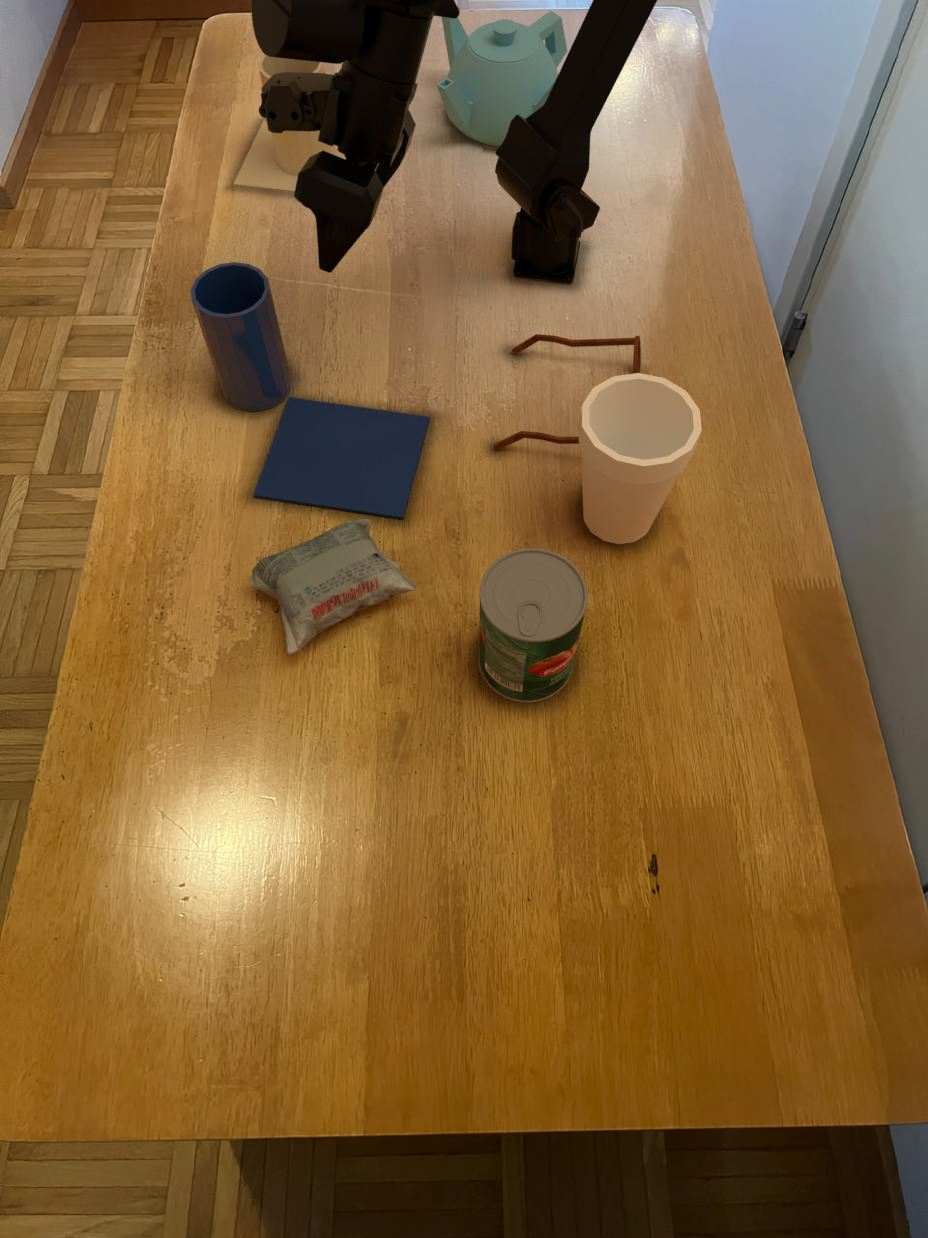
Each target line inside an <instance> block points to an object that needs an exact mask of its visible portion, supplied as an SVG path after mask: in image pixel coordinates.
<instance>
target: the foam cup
mask: <svg viewBox="0 0 928 1238" xmlns="http://www.w3.org/2000/svg"><path fill="white" fill-rule="evenodd" d="M702 431H703V429H702V418H701V411H700V408H699V407H698V405H697V404H696V402H695V401H694V400H693V398H692V397H691V395H690V394H689V393H688V391H687V390H685V389H683V388H682V387H681V386H679V385H677V384H675V383H674V382H672V381H670V380H668V379H667V378H665V377H660V376H655V375H650V374H646V373H641V372H640V373H635V374H633V373H627V374H622V375H614V376H611V377H610V378H608V379H606V380H605V381H603V382H600V383H599V384H597V385H596V386H594V387H593V388H592V389H591V390H590V392H589V393H588V395H587V397H586V398H585V400H584V402H583V403H582V405H581V407H580V415H579V422H578V437H579V444H578V447H579V448H580V450H581V475H582V477H581V478H582V482H581V483H582V512H583V514H582V515H583V522H584V523H585V525H586V526H587V529H588V530H589V532H590V533H591V534H593V535H595V536H596V537H597V538H599V539H600V540H602V541H603V542H608V543H612V544H616V545H622V544H630V543H635V542H636V541H638V540H640V539H642V538H643V537H644V536H646V535H647V534H648V533H649V531H650V530H651V528H652V526H653V524H654V522H655V519H656V518H657V516H658V514H659V512H660V510H661V509H662V507H663V505H664V504H665V502H666V500H667V498H668V496H669V495H670V493H671V490H672V488H673V487H674V485H675V484H676V481H677V480H678V478H679V476H680V474H681V472H683V471H684V470H685V469H687V466H688V465H689V462H690V461H691V459H692V457H693V455H694V453H695V452H696V449H697V447H698V443H699V440H700V437H701V434H702Z"/></svg>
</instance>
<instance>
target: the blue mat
mask: <svg viewBox="0 0 928 1238" xmlns="http://www.w3.org/2000/svg"><path fill="white" fill-rule="evenodd" d="M285 404H286V405H285V407H284V409H283V413H282V415H281V418H280V422H279V424H278V426H277V430H276V432H275V435H274V437H273V440H272V443H271V446H270V448H269V451H268V454H267V457H266V459H265V462H264V465H263V468H262V470H261V473H260V476H259V479H258V482H257V483H256V486H255V490H254V493H253V498H257V499H263V500H270V501H276V502H282V503H290V504H296V505H302V506H309V507H317V508H322V509H330V510H336V511H343V512H350V513H354V514H355V513H356V514H361V515H367V516H368V515H369V516H374V517H375V516H376V517H383V518H389V519H397V520H404V519H405V515H406V512H407V507H408V503H409V500H410V496H411V492H412V488H413V484H414V480H415V477H416V473H417V469H418V465H419V462H420V457H421V454H422V451H423V450H422V449H423V446H424V442H425V438H426V436H427V435H426V434H427V431H428V427H429V423H430V419H431V417H430V416H427V415H420V414H413V413H407V412H406V413H405V412H398V411H392V410H384V409H376V408H370V407H361V406H357V405H347V404H341V403H333V402H327V401H320V400H313V399H305V398H297V397H290V396H289V397H288V399H287V402H286V403H285Z"/></svg>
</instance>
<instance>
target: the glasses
mask: <svg viewBox="0 0 928 1238" xmlns="http://www.w3.org/2000/svg"><path fill="white" fill-rule="evenodd" d="M538 342H547V343H555V344H559V345H563V346H567V347H571V348H582V347H585V348H586V347H587V348H588V347H616V346H633V353H632V354H633V355H632V374H635V373H641V369H642V368H641V367H642V366H641V365H642V345H641V336H640V335H635V336H634V337H620V338H617V337H615V338H589V339H588V338H586V339H584V338H583V339H569V338H565V337H563V336H558V335H554V334H553V335H551V334H538V333H536V334H534V335H532V336H530V337H529V338H527V339H526V340H524V341H523V342H521V343H519V344H518V345H516V346H514V347H513V348H511V352H512V354H513V355H514V356H516V355H518V354H519V353H521V352H523V351H524V350H526V349H528V348H529V347H531V346H534V345H535V344H536V343H538ZM523 439H531V440H539V441H540V440H541V441H544V442H545V441H546V442H549V443H553V444H557V445H579V436H556V435H552V434H549V433H544V432H538V431H526V430H520V431H518V432H515V433H514V434H511V435H510V436H508V437H505V438H503V439H500V440H499V441H497V442H495V443H493V448H494V449H495V450H496V451H500V450H502V449H504V448H506V447H508V446H510V445H512V444H514V443H516V442H518V441H521V440H523Z"/></svg>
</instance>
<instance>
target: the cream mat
mask: <svg viewBox="0 0 928 1238" xmlns="http://www.w3.org/2000/svg"><path fill="white" fill-rule="evenodd" d="M337 149H338V146H336V145H335V155H336V156H338V157H341V158H343V159H345V160H346V158H345V155H344V154H342V153H340V152H339V151H338V150H337ZM297 178H298V176H296V175H292V174H289V173H287V172H285V171H284V170H282V169H281V168H280V166H279V165H278V162H277V157H276V152H275V147H274V142H273V137H272V132H270V131H269V130H268V126H267V120H262V122H261V125H260V127H259V129H258V131H257V134H256V135H255V138H254V139H253V142H252V143H251V146H250V148H249V150H248V153H247V154H246V156H245V159H244V161H243V163H242V165H241V167H240V168H239V171H238V174H237V176H236V177H235V180H234V181H233V185H239V186H247V187H255V188H265V189H271V190H272V189H273V190H280V191H281V190H282V191H290V192H295V188H296V183H297Z"/></svg>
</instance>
